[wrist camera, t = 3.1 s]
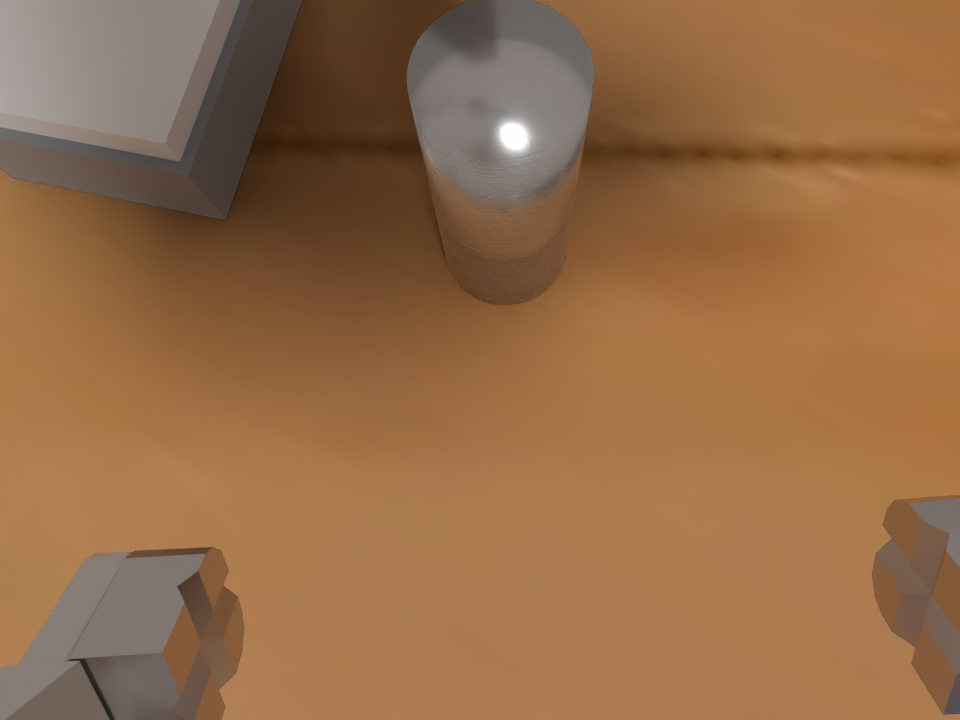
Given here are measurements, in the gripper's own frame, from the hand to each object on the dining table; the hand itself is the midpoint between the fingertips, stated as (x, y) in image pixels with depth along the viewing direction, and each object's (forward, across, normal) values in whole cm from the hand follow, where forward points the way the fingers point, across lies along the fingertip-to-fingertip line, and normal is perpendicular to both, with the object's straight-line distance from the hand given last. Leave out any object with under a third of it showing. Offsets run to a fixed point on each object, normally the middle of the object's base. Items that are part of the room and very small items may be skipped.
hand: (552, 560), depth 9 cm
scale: (+22, +12, -3) cm, 25 cm away
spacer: (+16, 0, +2) cm, 17 cm away
